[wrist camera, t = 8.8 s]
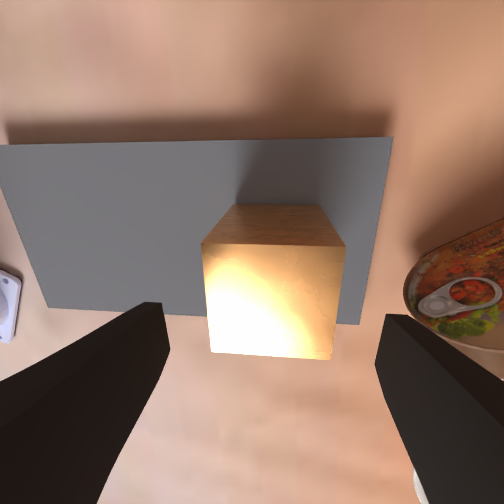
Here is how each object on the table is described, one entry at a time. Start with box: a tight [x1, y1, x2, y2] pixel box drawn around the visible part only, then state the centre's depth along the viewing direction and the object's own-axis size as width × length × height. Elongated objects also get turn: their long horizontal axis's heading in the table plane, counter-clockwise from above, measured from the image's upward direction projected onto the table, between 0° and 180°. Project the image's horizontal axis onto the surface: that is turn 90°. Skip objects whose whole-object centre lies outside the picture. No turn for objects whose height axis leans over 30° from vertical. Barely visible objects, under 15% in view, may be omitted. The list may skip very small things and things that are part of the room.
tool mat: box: [0, 137, 393, 325], centre depth 15 cm, size 24×12×6 cm, turn 91°
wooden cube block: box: [201, 204, 346, 360], centre depth 13 cm, size 5×5×7 cm
